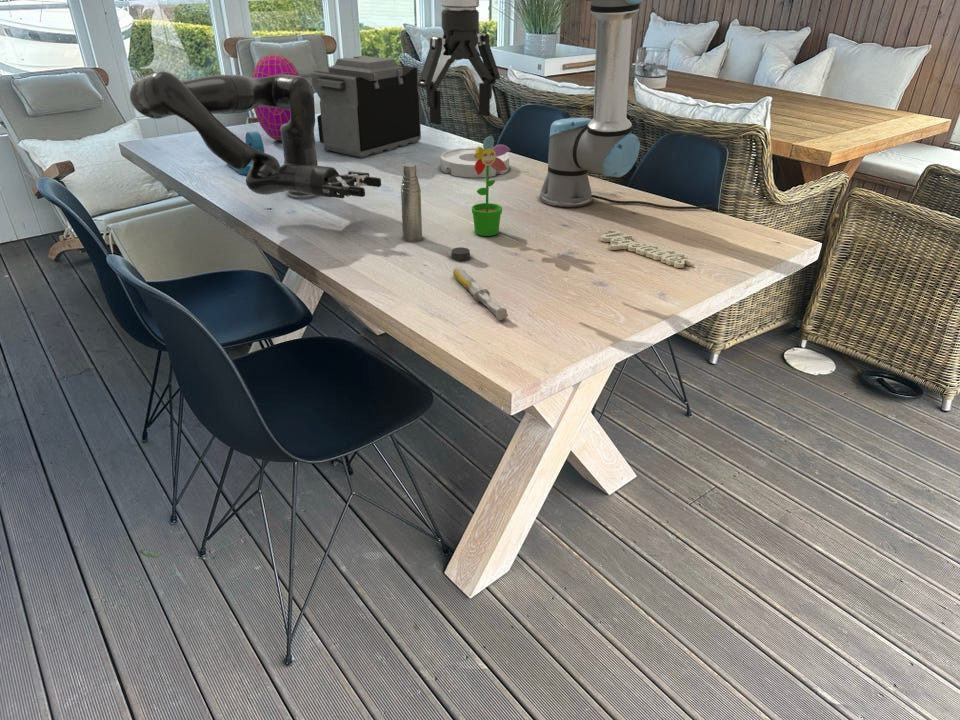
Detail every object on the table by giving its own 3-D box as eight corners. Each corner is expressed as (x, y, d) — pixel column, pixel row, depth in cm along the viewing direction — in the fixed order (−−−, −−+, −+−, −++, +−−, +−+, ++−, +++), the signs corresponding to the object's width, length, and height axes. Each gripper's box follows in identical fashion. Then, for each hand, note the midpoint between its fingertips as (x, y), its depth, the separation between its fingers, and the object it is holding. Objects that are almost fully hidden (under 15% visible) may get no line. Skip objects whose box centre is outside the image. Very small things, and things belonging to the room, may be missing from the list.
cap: (462, 252, 167) (462, 245, 166) (473, 258, 164) (473, 251, 163) (447, 256, 164) (447, 249, 163) (458, 262, 161) (458, 255, 160)
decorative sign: (586, 237, 174) (611, 228, 179) (586, 240, 174) (611, 231, 180) (674, 268, 157) (698, 257, 162) (673, 272, 157) (698, 261, 163)
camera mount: (227, 164, 233) (221, 132, 227) (257, 160, 238) (252, 129, 233) (244, 176, 220) (239, 143, 215) (276, 172, 225) (271, 139, 220)
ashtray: (443, 158, 243) (443, 147, 241) (508, 159, 242) (508, 148, 240) (437, 176, 223) (437, 164, 221) (508, 178, 222) (509, 165, 220)
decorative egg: (293, 132, 276) (283, 50, 261) (319, 140, 264) (310, 56, 249) (249, 139, 265) (236, 54, 250) (273, 148, 253) (261, 60, 238)
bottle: (426, 237, 175) (423, 164, 166) (413, 243, 172) (410, 168, 162) (411, 233, 178) (408, 161, 168) (399, 238, 174) (395, 165, 165)
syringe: (449, 274, 155) (449, 263, 153) (465, 272, 156) (464, 260, 154) (490, 323, 135) (491, 310, 133) (508, 319, 136) (508, 307, 134)
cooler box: (383, 133, 276) (378, 52, 261) (425, 141, 265) (422, 56, 250) (314, 150, 251) (304, 61, 235) (358, 160, 240) (350, 67, 224)
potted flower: (478, 239, 174) (479, 138, 161) (464, 230, 180) (464, 131, 167) (510, 234, 178) (514, 134, 165) (496, 224, 184) (498, 128, 171)
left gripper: (299, 173, 169) (357, 180, 165) (329, 159, 181) (384, 165, 176) (303, 203, 173) (360, 210, 169) (332, 187, 185) (386, 193, 180)
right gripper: (493, 5, 146) (492, 109, 157) (397, 9, 132) (403, 123, 143) (518, 7, 142) (514, 114, 152) (421, 12, 127) (424, 129, 138)
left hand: (372, 187), depth 172 cm, fingers open, 8 cm apart
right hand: (460, 119), depth 148 cm, fingers open, 13 cm apart
